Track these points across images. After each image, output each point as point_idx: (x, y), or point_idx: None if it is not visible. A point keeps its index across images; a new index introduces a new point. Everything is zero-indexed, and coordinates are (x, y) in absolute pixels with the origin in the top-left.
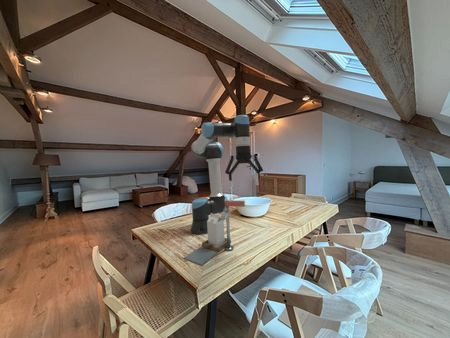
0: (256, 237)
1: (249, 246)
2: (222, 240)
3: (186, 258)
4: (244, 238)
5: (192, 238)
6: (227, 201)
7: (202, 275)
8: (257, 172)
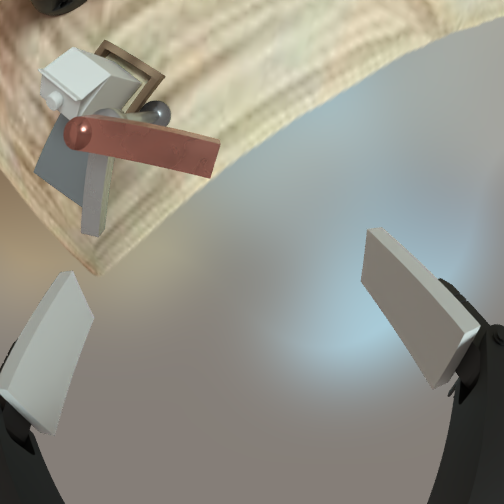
0: (275, 45)
1: (230, 107)
2: (128, 93)
3: (41, 177)
4: (225, 43)
5: (40, 45)
6: (82, 150)
7: (94, 243)
8: (460, 374)
